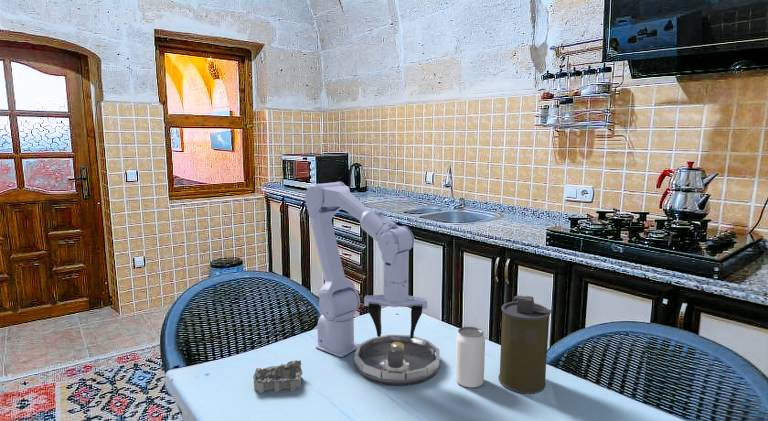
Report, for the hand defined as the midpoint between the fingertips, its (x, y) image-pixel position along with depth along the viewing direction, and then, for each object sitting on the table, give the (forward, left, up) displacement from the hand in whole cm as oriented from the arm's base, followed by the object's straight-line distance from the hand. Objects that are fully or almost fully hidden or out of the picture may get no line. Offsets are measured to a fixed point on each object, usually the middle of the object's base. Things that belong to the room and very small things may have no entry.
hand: (395, 335), depth 108 cm
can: (+16, +7, -10) cm, 20 cm away
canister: (+26, +14, -10) cm, 31 cm away
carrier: (-2, +4, -9) cm, 11 cm away
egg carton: (-19, -20, -10) cm, 29 cm away
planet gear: (+1, -1, -8) cm, 8 cm away
